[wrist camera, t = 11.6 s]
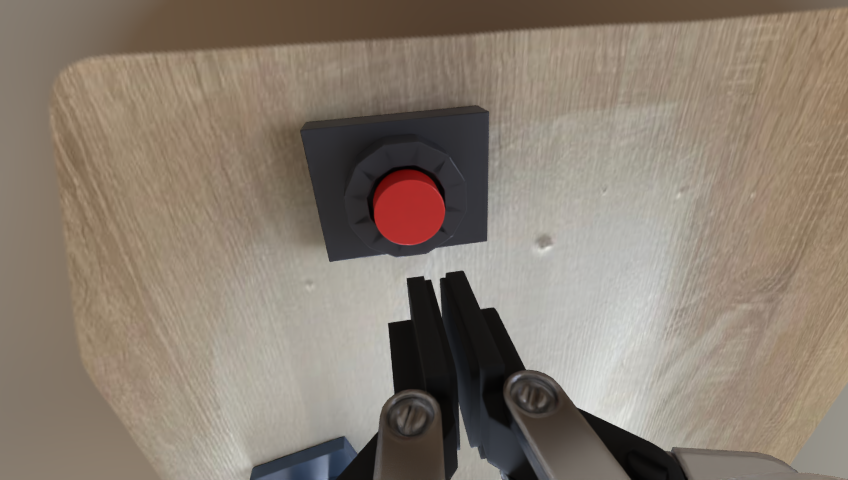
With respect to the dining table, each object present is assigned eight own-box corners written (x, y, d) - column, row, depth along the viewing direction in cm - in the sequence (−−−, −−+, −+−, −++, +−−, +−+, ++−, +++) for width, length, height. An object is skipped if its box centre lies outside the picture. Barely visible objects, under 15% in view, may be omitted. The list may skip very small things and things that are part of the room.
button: (377, 234, 21) (378, 249, 20) (368, 172, 19) (369, 184, 18) (440, 226, 21) (446, 240, 20) (437, 165, 20) (443, 175, 18)
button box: (331, 245, 25) (326, 278, 21) (305, 121, 21) (294, 138, 18) (478, 226, 26) (496, 255, 22) (478, 105, 22) (500, 117, 19)
